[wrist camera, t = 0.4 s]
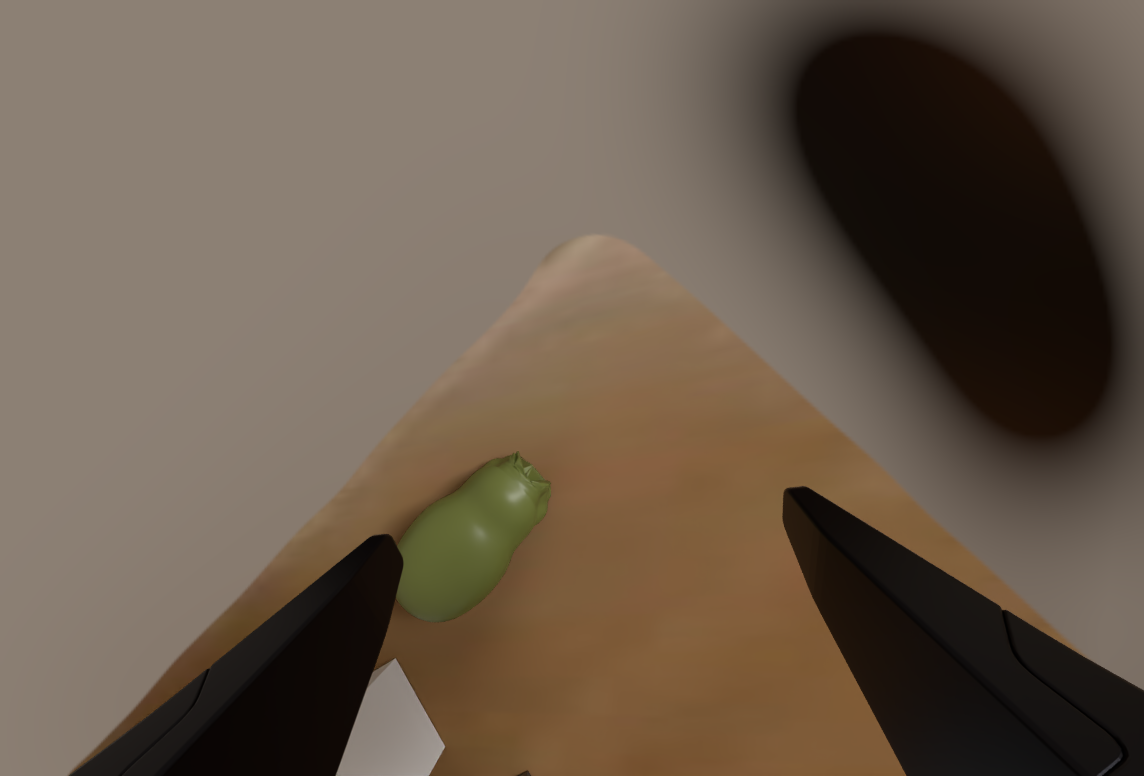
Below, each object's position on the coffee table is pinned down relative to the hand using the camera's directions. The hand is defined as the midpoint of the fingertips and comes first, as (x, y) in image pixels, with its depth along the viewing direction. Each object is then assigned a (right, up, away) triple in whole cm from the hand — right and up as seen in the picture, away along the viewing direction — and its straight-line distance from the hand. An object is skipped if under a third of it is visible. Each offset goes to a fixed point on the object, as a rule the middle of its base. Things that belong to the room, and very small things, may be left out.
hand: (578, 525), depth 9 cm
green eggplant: (-5, -5, +15) cm, 17 cm away
